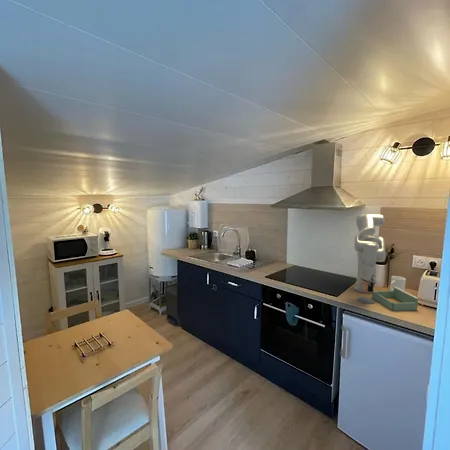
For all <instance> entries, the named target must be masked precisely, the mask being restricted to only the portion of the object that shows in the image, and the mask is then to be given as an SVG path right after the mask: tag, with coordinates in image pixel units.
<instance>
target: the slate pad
mask: <svg viewBox="0 0 450 450" xmlns="http://www.w3.org/2000/svg"><path fill="white" fill-rule="evenodd" d="M357 301H358V302H359V303H362V304H367V305H374V304H376V300H375V299H373V298H372V297H371V298H370V297H366V296H359V297H357Z"/></svg>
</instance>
